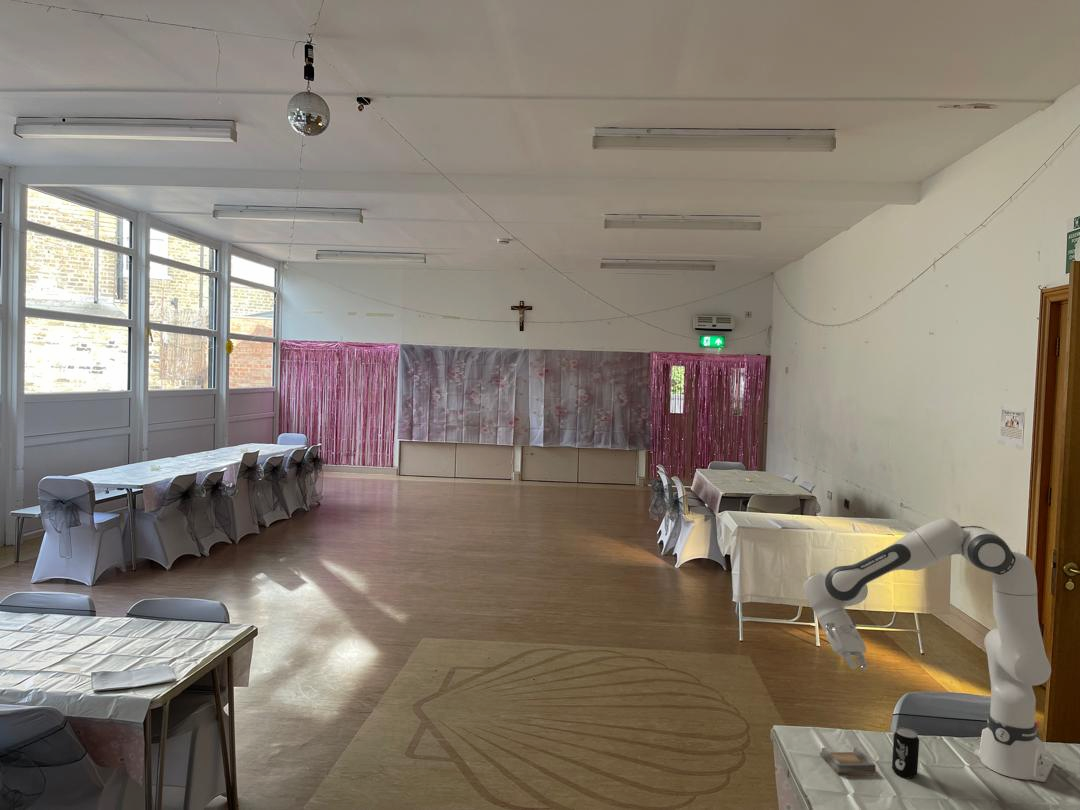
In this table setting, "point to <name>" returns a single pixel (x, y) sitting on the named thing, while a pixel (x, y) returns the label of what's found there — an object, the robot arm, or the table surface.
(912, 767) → the beverage can
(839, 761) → the brown flat square tray
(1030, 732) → the robot arm
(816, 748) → the table surface
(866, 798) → the table surface
